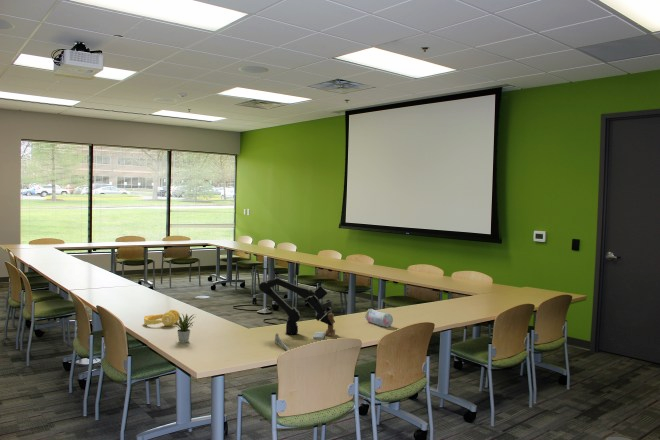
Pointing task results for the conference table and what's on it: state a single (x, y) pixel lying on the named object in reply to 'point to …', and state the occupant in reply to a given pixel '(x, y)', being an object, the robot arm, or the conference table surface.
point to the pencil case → (378, 318)
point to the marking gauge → (330, 328)
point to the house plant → (184, 328)
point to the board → (319, 335)
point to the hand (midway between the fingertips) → (333, 323)
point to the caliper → (280, 342)
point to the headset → (163, 318)
